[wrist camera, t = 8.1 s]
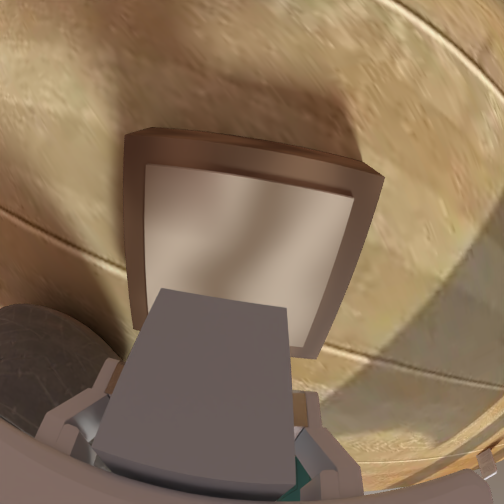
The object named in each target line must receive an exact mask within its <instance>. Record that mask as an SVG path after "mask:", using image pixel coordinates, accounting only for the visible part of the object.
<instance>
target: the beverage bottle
mask: <svg viewBox="0 0 504 504" xmlns="http://www.w3.org/2000/svg"><path fill="white" fill-rule="evenodd" d="M295 469H296V485H294V486H293V487H292V488H291V489H290V490H289V491H287V492H286V493H285V494H284V495H282V496H281V497H280V498H279V499H277V502H292V501H300V489H301V488H302V487H303V486H305V485H306V484H307V483H308V482H310V481H311V480H312V479H311V477H310V476H309V474H308V473H307V471H306V470H305V468H304V467H303V465H302V464H301V462H300V461H299V459H298V458H297V456H295Z"/></svg>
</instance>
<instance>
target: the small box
mask: <svg viewBox="0 0 504 504" xmlns="http://www.w3.org/2000/svg"><path fill="white" fill-rule="evenodd" d="M476 457H477V460H478V463H479V467H480V471H481V474H482V478H483V479H484V480H486V479H487V478H489V477H491V476H493V475H494V474H496V473H497V468H496V465H495V462H494V459H493V456H492V453H491V450H490V448H488V449H487V450H485V451H484V452H482V453H480V454H479V455H477V456H476Z"/></svg>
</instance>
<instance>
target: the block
mask: <svg viewBox="0 0 504 504" xmlns="http://www.w3.org/2000/svg"><path fill="white" fill-rule="evenodd" d="M91 447H92V449H93V450H94V451H95V452H96V454H97V455H98V456H99V457H100V458H101V460H102V461H103V462H104V463H105V464H106V466H107V467H108V468H109V469H110V470H111V471H112V472H113V473H114V474H117V475H120V476H124V477H127V478H130V479H133V480H137V481H140V482H144V483H147V484H151V485H155V486H159V487H163V488H168V489H172V490H177V491H182V492H187V493H193V494H198V495H205V496H212V497H219V498H228V499H238V500H251V501H276V500H277V499H279V498H280V497H281V496H282V495H284V494H285V493H286V492H287V491H289V490H290V489H291V488H292V487H293V486H294V485H296V469H295V440H294V416H293V396H292V378H291V362H290V346H289V332H288V318H287V308H285V307H277V306H270V305H263V304H256V303H249V302H243V301H236V300H230V299H223V298H217V297H211V296H205V295H199V294H193V293H188V292H182V291H176V290H171V289H165V288H161V289H160V291H159V293H158V295H157V297H156V299H155V301H154V303H153V305H152V307H151V309H150V311H149V314H148V316H147V318H146V320H145V322H144V324H143V326H142V328H141V330H140V332H139V334H138V337H137V339H136V341H135V343H134V345H133V347H132V350H131V352H130V354H129V356H128V358H127V361H126V363H125V365H124V367H123V370H122V372H121V374H120V377H119V379H118V381H117V384H116V386H115V388H114V391H113V393H112V395H111V398H110V400H109V403H108V405H107V408H106V410H105V412H104V415H103V417H102V420H101V423H100V425H99V428H98V430H97V433H96V436H95V438H94V441H93V444H92V446H91Z"/></svg>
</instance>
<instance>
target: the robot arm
mask: <svg viewBox="0 0 504 504" xmlns="http://www.w3.org/2000/svg"><path fill="white" fill-rule="evenodd" d="M125 363H126V362H122V361H119V360H116V359H112V358H108V359H107V360H106V361H105V363H104V365H103V367H102V369H101V371H100V373H99V375H98V377H97V379H96V381H95V383H94V385H93V387H92V389H91V388H87V389H86V390H84V391H82V392H81V393H79V394H77V395H76V396H74V397H72V398H71V399H69V400H67V401H66V402H64V403H62V404H61V405H59V406H57V407H56V408H54V409H52V410H50V411H49V412H47V413H46V415H45V417H44V419H43V421H42V423H41V425H40V427H39V429H38V431H37V434H36V436H35V438H33V437H31V436H29V435H28V434H26V433H24V432H23V431H21V430H19V429H18V428H16V427H14V426H13V425H11V424H9V423H8V422H6V421H5V420H3V419H2V418H0V504H493V499H492V494H491V490H490V487H489V485H488V483H487V482H486V481H485V480H484V479H483V478H481V477H480V476H479V475H478V474H476V473H475V472H474V471H472V470H471V469H463V470H460V471H457V472H454V473H452V474H449V475H446V476H443V477H440V478H437V479H433V480H430V481H427V482H423V483H420V484H416V485H412V486H408V487H404V488H400V489H396V490H391V491H386V492H381V493H376V494H370V495H364V491H363V483H362V476H361V469H360V466H359V465H358V464H357V463H356V462H355V460H354V459H353V458H352V457H351V456H350V455H349V454H348V453H347V451H346V450H345V449H344V448H343V447H342V446H341V445H340V443H339V442H338V441H337V440H336V439H335V438H334V437H333V435H332V434H331V433H330V432H329V431H328V429H327V428H323V427H322V420H321V412H320V404H319V396H318V393H317V392H312V391H297V390H292V396H293V416H294V440H295V455H296V456H297V458H298V459H299V461H300V462H301V464H302V465H303V467H304V468H305V470H306V471H307V473H308V474H309V476H310V477H311V479H312V480H311V481H310V482H308V483H307V484H306V485H305V486H303V487H302V488H301V489H300V501H292V502H277V501H251V500H238V499H228V498H219V497H212V496H205V495H198V494H193V493H187V492H182V491H177V490H172V489H168V488H163V487H159V486H155V485H151V484H147V483H144V482H140V481H137V480H133V479H130V478H127V477H124V476H120V475H117V474H114V473H112V472H109V471H106V470H103V469H100V468H98V467H95V466H93V465H94V461H95V458H96V455H97V454H96V452H95V451H94V450H93V449H92V447H91V445H90V444H89V443H88V442H89V441H91V440H92V439H93V438H94V437H95V436H96V433H97V430H98V428H99V425H100V423H101V420H102V417H103V415H104V412H105V410H106V408H107V405H108V403H109V400H110V398H111V395H112V393H113V391H114V388H115V386H116V384H117V381H118V379H119V377H120V374H121V372H122V370H123V367H124V365H125Z"/></svg>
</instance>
